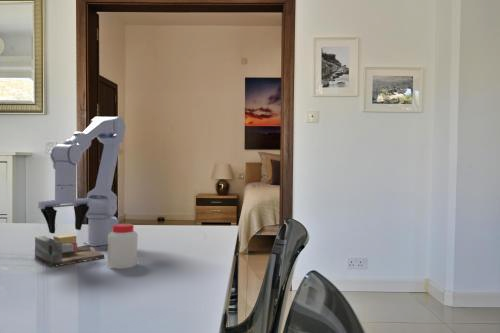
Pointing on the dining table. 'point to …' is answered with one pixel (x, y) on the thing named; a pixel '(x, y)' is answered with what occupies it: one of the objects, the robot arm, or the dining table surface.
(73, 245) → the gauge plunger
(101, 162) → the robot arm
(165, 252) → the dining table surface
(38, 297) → the dining table surface
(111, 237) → the pill bottle
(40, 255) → the rail bed
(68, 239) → the carriage
